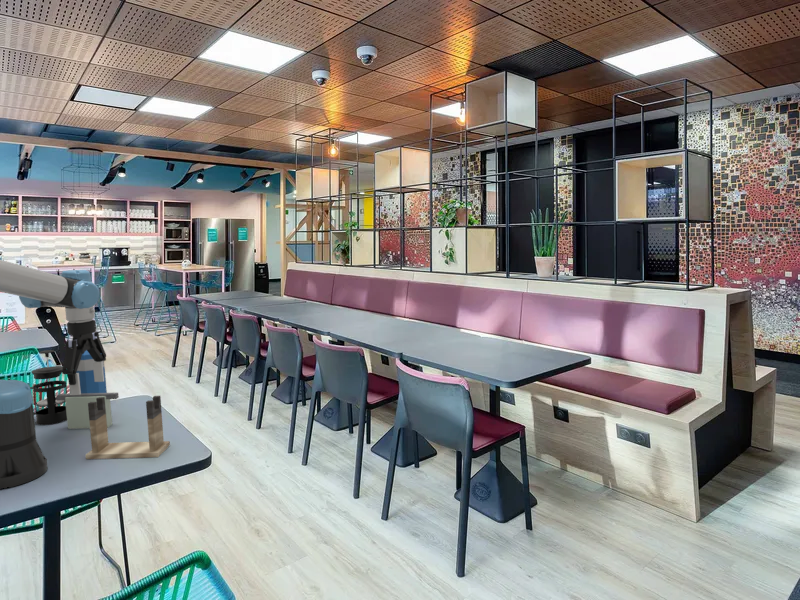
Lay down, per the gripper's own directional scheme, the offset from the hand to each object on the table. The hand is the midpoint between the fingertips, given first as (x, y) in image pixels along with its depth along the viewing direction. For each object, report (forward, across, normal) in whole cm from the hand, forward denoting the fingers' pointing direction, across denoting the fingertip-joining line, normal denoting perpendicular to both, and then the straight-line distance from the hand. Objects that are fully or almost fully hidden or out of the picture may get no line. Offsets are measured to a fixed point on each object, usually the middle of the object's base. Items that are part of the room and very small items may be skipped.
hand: (88, 387), depth 164 cm
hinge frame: (+12, -22, -21) cm, 33 cm away
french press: (+13, +6, +16) cm, 22 cm away
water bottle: (+13, +19, +10) cm, 25 cm away
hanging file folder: (+12, 0, 0) cm, 12 cm away
